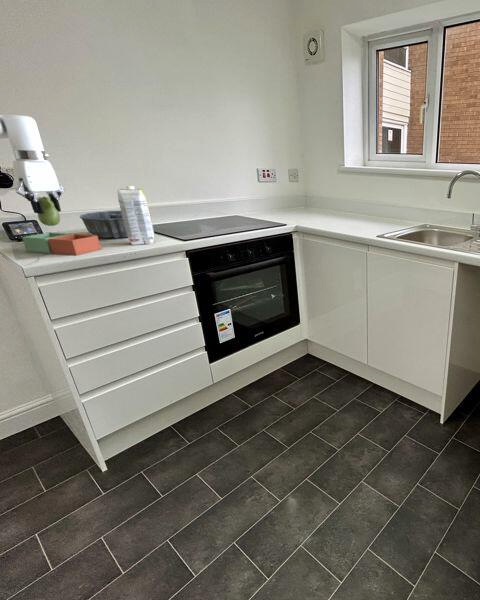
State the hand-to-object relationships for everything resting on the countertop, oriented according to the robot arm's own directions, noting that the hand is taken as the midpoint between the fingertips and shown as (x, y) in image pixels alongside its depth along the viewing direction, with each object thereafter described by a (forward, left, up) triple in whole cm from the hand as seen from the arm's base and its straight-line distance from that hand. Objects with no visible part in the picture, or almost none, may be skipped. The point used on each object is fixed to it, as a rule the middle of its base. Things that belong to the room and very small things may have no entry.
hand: (47, 211), depth 123 cm
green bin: (+9, +16, -17) cm, 25 cm away
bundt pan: (+40, +15, -17) cm, 46 cm away
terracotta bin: (+9, +4, -17) cm, 20 cm away
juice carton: (+28, -7, -17) cm, 34 cm away
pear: (0, 0, -5) cm, 5 cm away
